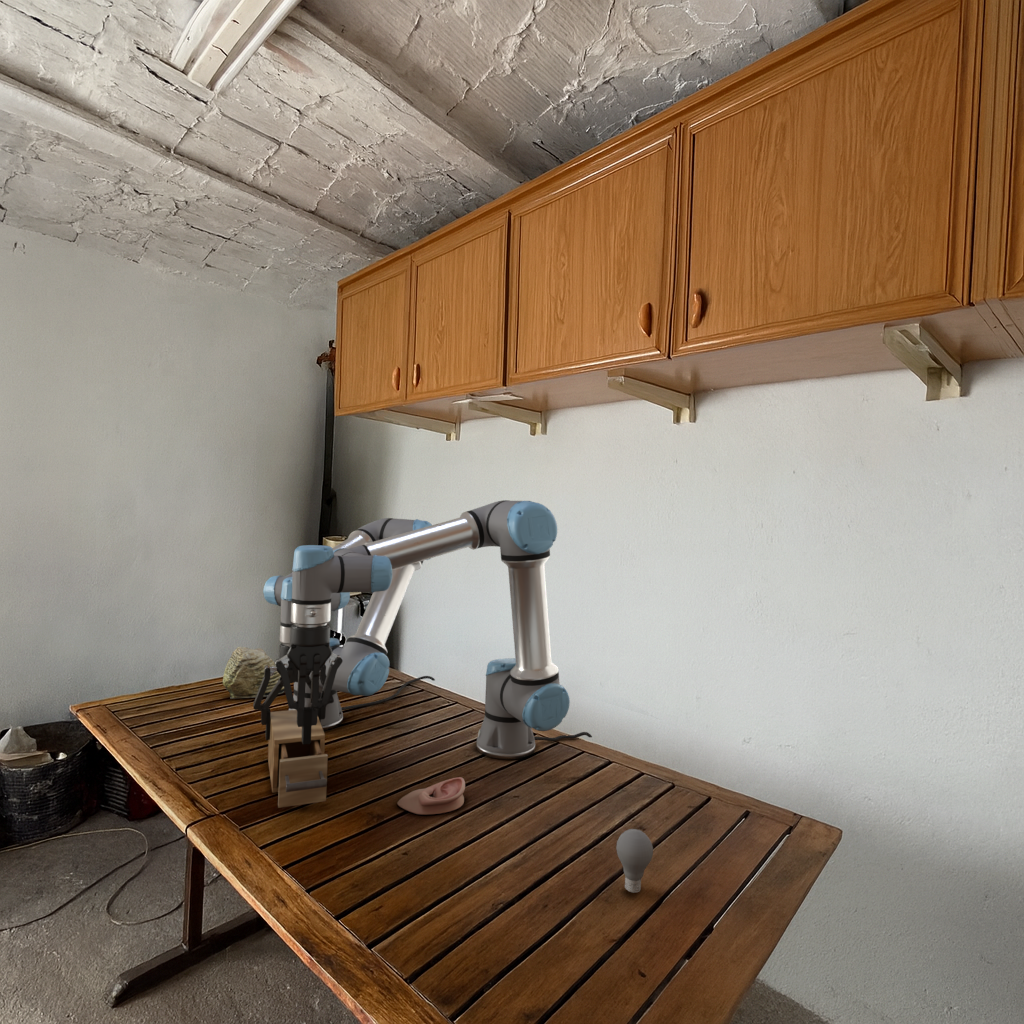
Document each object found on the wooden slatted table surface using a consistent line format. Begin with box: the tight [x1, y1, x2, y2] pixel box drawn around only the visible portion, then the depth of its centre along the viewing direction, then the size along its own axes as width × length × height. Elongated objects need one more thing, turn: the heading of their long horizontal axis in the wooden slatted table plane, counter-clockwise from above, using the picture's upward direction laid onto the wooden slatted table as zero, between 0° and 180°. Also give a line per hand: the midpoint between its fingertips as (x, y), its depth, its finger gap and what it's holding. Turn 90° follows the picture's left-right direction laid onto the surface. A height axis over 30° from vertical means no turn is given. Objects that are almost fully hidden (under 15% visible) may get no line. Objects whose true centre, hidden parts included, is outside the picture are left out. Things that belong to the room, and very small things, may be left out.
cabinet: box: [267, 709, 326, 794], centre depth 145 cm, size 18×10×11 cm, turn 24°
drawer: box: [277, 740, 329, 809], centre depth 133 cm, size 23×9×9 cm, turn 24°
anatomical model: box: [397, 776, 466, 816], centre depth 133 cm, size 13×4×12 cm
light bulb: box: [615, 828, 654, 894], centre depth 106 cm, size 6×6×10 cm
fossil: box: [222, 646, 285, 699], centre depth 198 cm, size 9×18×15 cm, turn 132°
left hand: (293, 735), depth 150 cm, fingers open, 11 cm apart
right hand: (306, 741), depth 126 cm, fingers closed
